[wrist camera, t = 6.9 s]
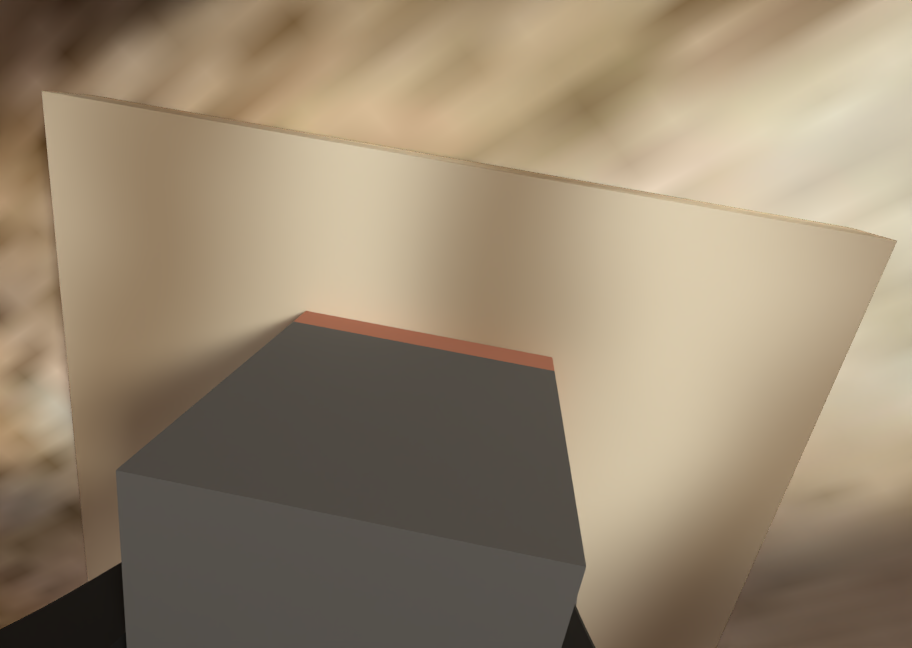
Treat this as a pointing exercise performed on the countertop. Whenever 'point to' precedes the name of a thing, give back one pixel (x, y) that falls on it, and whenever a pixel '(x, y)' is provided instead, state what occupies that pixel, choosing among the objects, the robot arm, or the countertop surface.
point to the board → (464, 323)
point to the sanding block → (356, 500)
